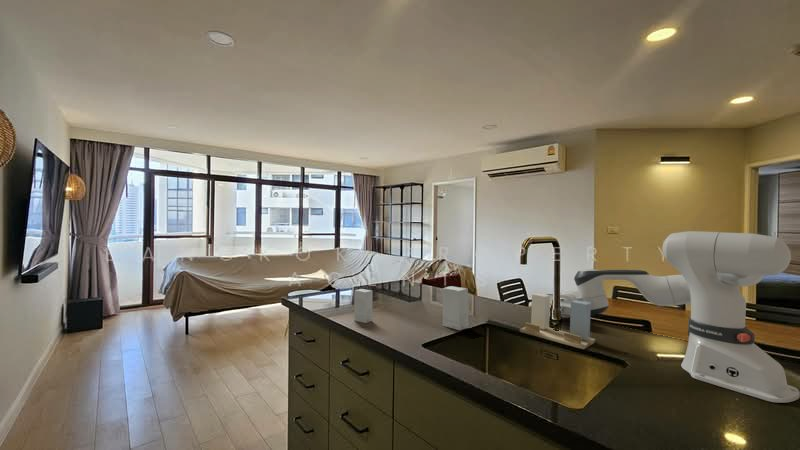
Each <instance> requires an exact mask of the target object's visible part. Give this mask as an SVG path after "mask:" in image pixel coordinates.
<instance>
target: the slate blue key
mask: <svg viewBox="0 0 800 450" xmlns="http://www.w3.org/2000/svg"><path fill="white" fill-rule="evenodd" d="M590 312H591V303H589V302H583V301H578V300H574V301H572V302H571V314H570V318H569V321H570V322H569V333H570V334H574V335H578V336H581V339H582V340H587V339H588V338H591V337H590V336H591V333H590V332H591V331H590V330H591V315H590Z"/></svg>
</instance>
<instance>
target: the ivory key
mask: <svg viewBox="0 0 800 450" xmlns="http://www.w3.org/2000/svg"><path fill="white" fill-rule="evenodd" d="M545 294H546V293H544V294H543V293H539V292H535V293H532V294H531V317H530V319H531V320H530V323H531V324H535V325H539V326H540V329H543V330H544V329H547V328H550V313H551V312H550V295H545Z"/></svg>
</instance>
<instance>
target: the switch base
mask: <svg viewBox="0 0 800 450" xmlns="http://www.w3.org/2000/svg"><path fill="white" fill-rule="evenodd" d="M553 329H554V328H553ZM553 329H552V327H549V328H547V329H544V330H543V329H540V326H539V325H535V324H531V322H525V323H524V327H521V328H519V332H520V333H523V334H527V335H530V336H534V337H538V338H541V339H545V340H548V341H551V342H556V343H559V344H563V345H567V346H569V347H570V346H571V347H573V348H577V349H582V350H585V349H587V348H588V347H591V345H594V344H595V343H596V339H595V338H592V337H590V338H588V339H587V340H582V339H581V336H578V335H574V334H570V331H569V332H567V331H566V330H565V331H564V330H560V329H558V330H559V331H555V330H553Z"/></svg>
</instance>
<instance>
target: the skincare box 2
mask: <svg viewBox="0 0 800 450" xmlns="http://www.w3.org/2000/svg"><path fill="white" fill-rule="evenodd" d="M441 296H442V326H443V327H446V328H449V329H453V330H456V331H462V330H465V329H468V328H469V289H468V288H465V287H458V286H453V285H451V286H446V287H443V288H442V295H441Z"/></svg>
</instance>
